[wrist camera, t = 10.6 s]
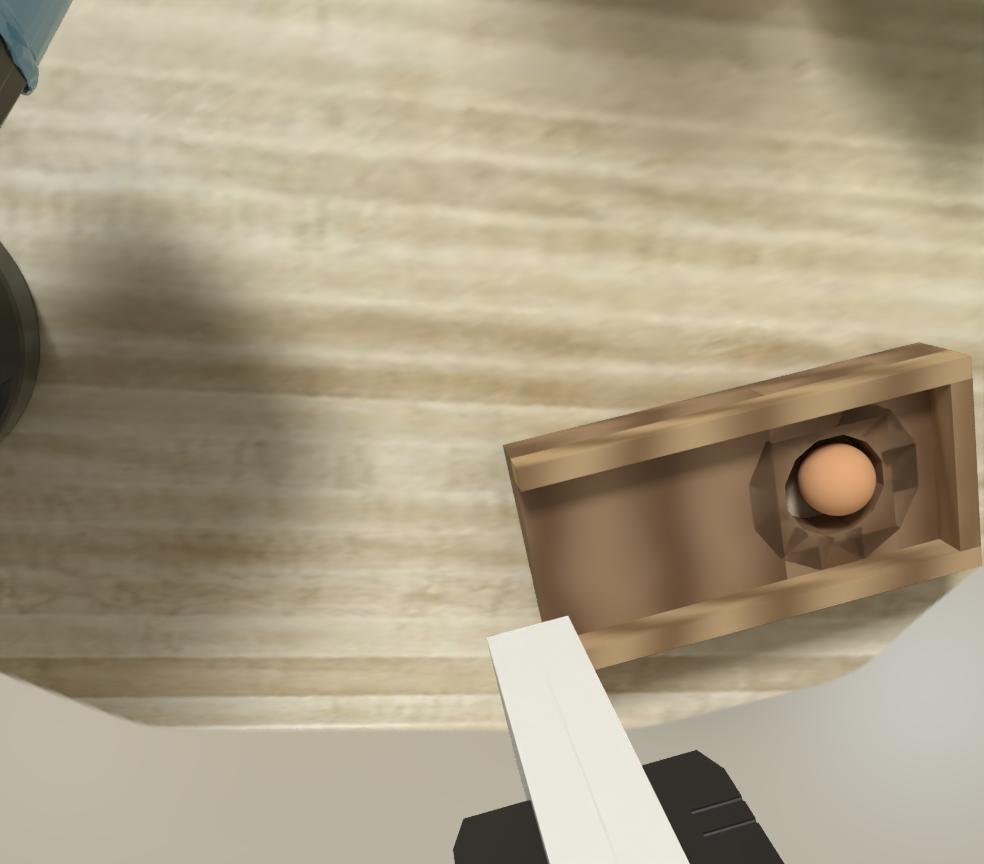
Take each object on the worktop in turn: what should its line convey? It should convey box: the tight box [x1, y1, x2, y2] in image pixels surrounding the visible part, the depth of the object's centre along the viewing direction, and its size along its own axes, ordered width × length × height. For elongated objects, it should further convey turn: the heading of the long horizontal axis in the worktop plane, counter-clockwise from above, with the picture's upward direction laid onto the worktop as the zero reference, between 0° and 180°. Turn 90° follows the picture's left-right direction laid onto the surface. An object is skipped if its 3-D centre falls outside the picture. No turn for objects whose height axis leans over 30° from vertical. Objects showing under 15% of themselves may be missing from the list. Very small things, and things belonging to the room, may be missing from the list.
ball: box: [798, 443, 876, 516], centre depth 47 cm, size 4×4×4 cm
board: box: [503, 343, 982, 670], centre depth 46 cm, size 24×12×4 cm, turn 102°
